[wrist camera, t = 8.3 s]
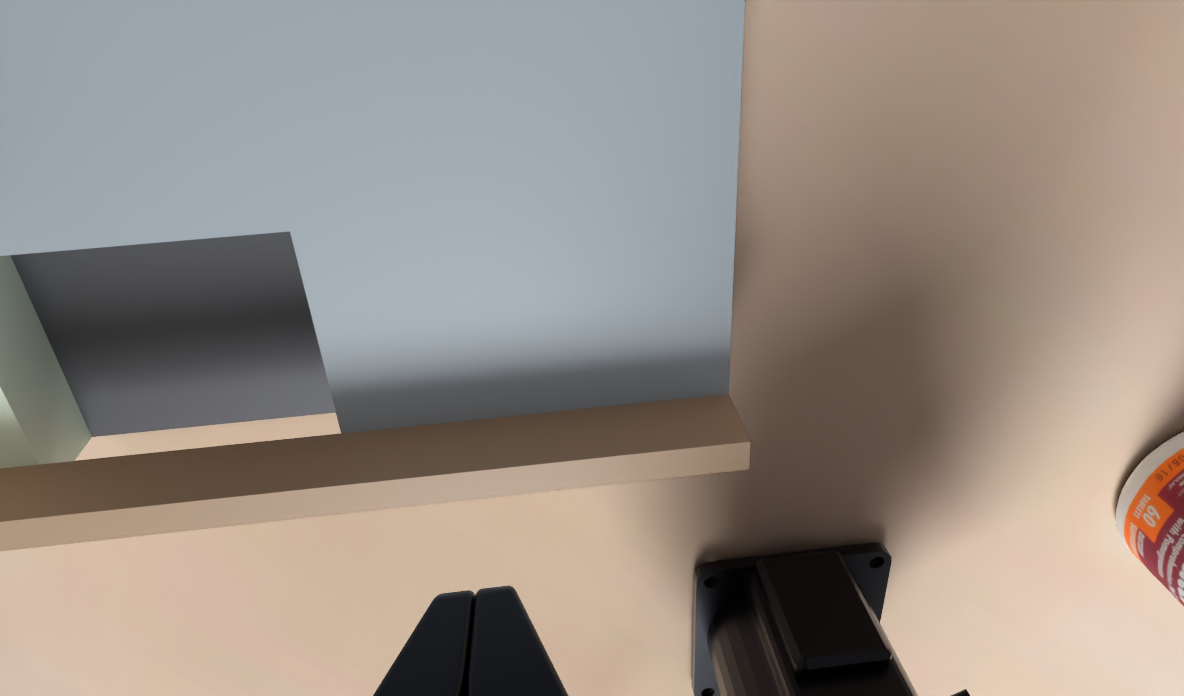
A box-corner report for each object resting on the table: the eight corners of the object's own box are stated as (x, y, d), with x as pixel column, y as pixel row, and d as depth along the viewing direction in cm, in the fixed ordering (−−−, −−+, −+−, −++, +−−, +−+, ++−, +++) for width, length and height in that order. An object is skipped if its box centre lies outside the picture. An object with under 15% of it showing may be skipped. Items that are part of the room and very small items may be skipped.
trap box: (704, 369, 23) (749, 469, 19) (-202, 460, 21) (-360, 590, 17) (731, -722, 13) (838, -996, 9) (-1006, -711, 11) (-1838, -1046, 7)
